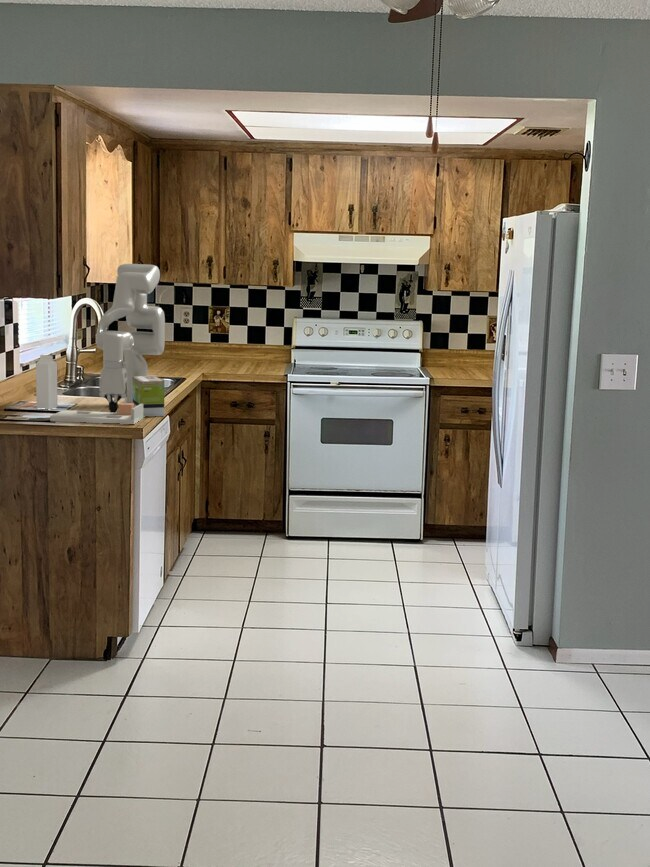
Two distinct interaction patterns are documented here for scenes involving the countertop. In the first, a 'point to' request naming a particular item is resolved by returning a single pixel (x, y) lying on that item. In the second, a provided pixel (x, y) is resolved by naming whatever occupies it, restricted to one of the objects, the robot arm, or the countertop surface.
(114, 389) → the robot arm
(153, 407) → the tea box
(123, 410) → the block
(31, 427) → the countertop surface
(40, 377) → the milk
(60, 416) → the board
